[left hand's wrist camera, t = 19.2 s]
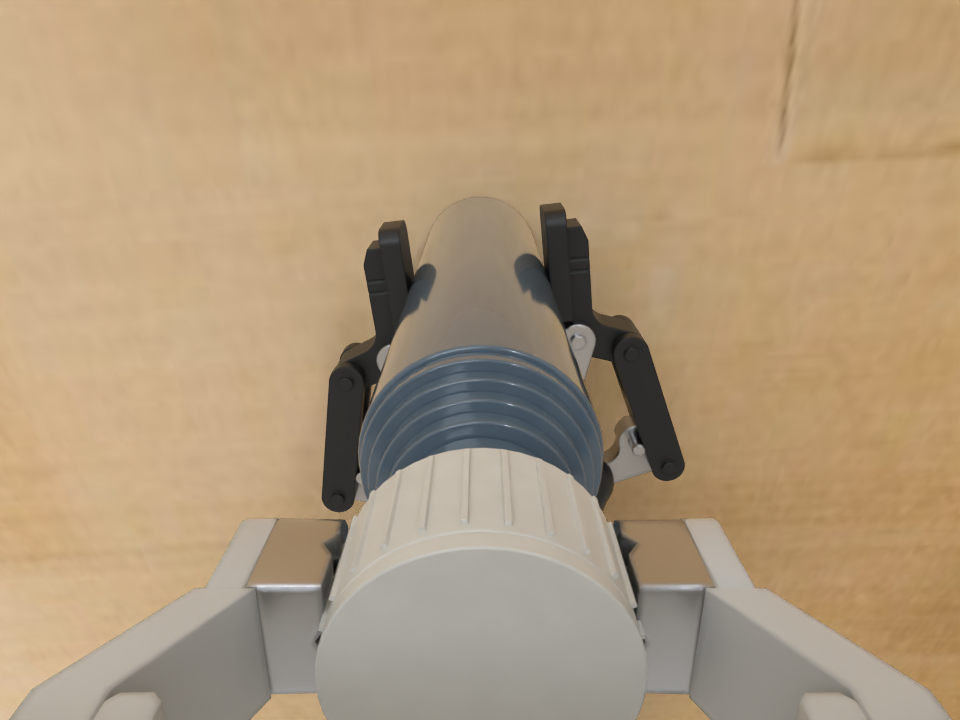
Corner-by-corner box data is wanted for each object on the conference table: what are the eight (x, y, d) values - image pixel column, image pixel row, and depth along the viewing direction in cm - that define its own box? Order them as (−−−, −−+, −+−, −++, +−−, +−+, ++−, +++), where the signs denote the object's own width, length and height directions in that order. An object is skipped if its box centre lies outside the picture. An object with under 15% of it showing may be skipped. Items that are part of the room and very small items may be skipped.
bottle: (541, 293, 31) (682, 758, 9) (438, 311, 31) (347, 800, 10) (525, 187, 29) (650, 461, 8) (416, 207, 29) (245, 526, 8)
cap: (357, 423, 9) (321, 520, 7) (647, 463, 10) (693, 568, 8) (333, 650, 11) (299, 785, 9) (585, 680, 11) (611, 818, 9)
